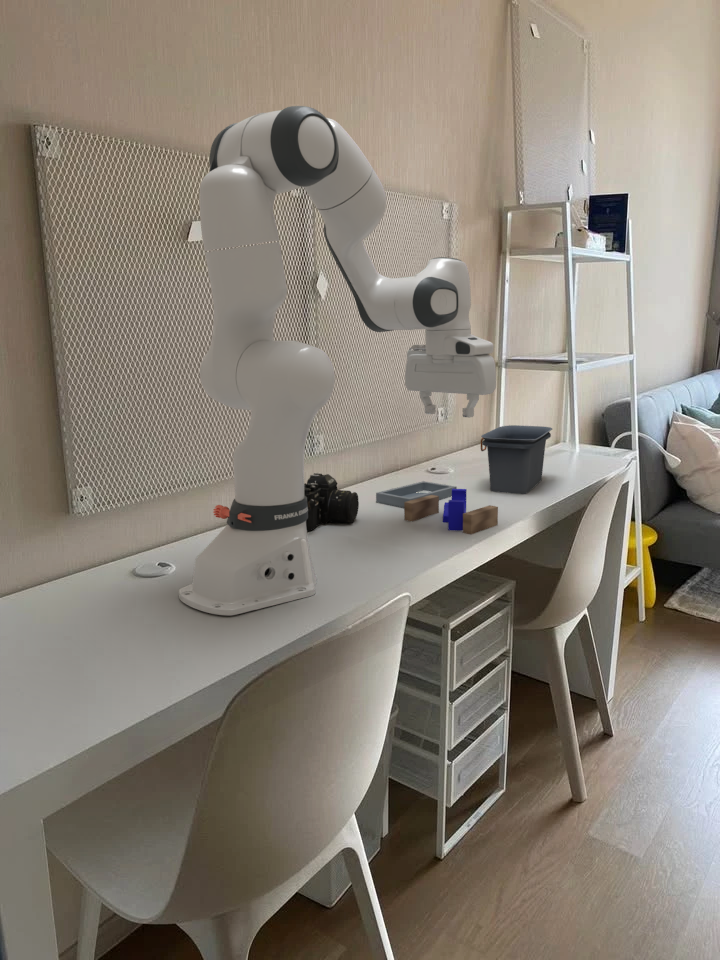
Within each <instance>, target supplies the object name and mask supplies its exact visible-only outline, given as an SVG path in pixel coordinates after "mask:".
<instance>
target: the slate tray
mask: <svg viewBox="0 0 720 960" xmlns="http://www.w3.org/2000/svg"><path fill="white" fill-rule="evenodd" d="M452 489H458V487H457V486H456V485H450V484H449V485H448V484H444V483H442V484H441V483H437V482H436V483H435V482H431V481H424V480H422V481H418V482H415V483H414V482H413V483H411V484H406V485H402V486H399V487H394V488H389V489H386V490H382V491H378V492H375V503H376V504H377V503H378V504H380V505H381V504H382V505H386V506H390V507H396V508H401V509H404V502H407V501H410V500H414V499H418V498H422V497H425V496H429V495H435V496H439V501H443V500H444V499H445V500H446V499H448V498H452V497H451V496H452ZM423 491H426V492H423ZM416 492H418V493H416ZM419 492H420V493H419Z"/></svg>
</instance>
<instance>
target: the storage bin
mask: <svg viewBox="0 0 720 960" xmlns="http://www.w3.org/2000/svg"><path fill="white" fill-rule="evenodd" d="M552 430H553V427H550V426H538V425H537V426H536V425H516V424H515V425H510V424H509V425H502V426H499V427H497V428H496V427H495V428H494V429H492V430H490V431H488V432H485V433H484V434H482V435H481V439H480V451H481V452H485V451H486V450H487V459H488V471H489V483H490V485H489V486H490V492H492V493H506V494H516V495H527V494H528V493H529V492H531V491H532V490H533V489H534V488H535V487H536V486H537V485H538V484H539V483H540V482H541V481H542V479H543V472H544V471H543V470H544V469H543V468H544V459H545V451H546V443H547V440H548V439H550V438H551V437H552V435H551V434H552V433H550V432H551V431H552ZM483 446H484V447H483Z"/></svg>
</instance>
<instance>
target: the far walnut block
mask: <svg viewBox="0 0 720 960" xmlns="http://www.w3.org/2000/svg"><path fill="white" fill-rule="evenodd" d="M403 509H404V511H403V512H404V514H403V515H404V517H403V518H404V521H407V520H408V521H407V522H411V521H412V522H415V521H418V520H421V519H424V518H427V517H429V516H433V515H436V514H439V511H440V500H439V496H435V495H429V496H425V497H422V498H418V499H414V500H410V501H407V502H404V508H403Z"/></svg>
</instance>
